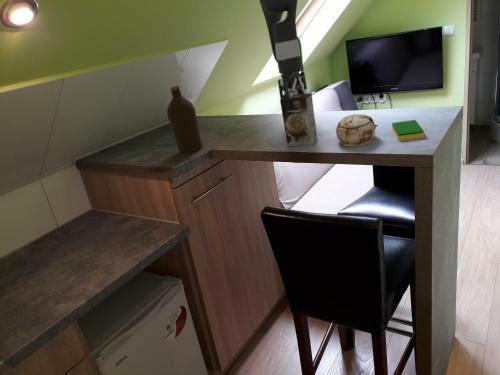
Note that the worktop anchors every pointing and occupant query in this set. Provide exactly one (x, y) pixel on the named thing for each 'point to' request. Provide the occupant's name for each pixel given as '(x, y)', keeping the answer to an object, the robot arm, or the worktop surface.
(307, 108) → the coffee box
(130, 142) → the worktop surface
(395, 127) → the dish sponge
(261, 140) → the worktop surface
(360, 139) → the trinket box
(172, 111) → the olive oil
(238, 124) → the worktop surface
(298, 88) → the robot arm
